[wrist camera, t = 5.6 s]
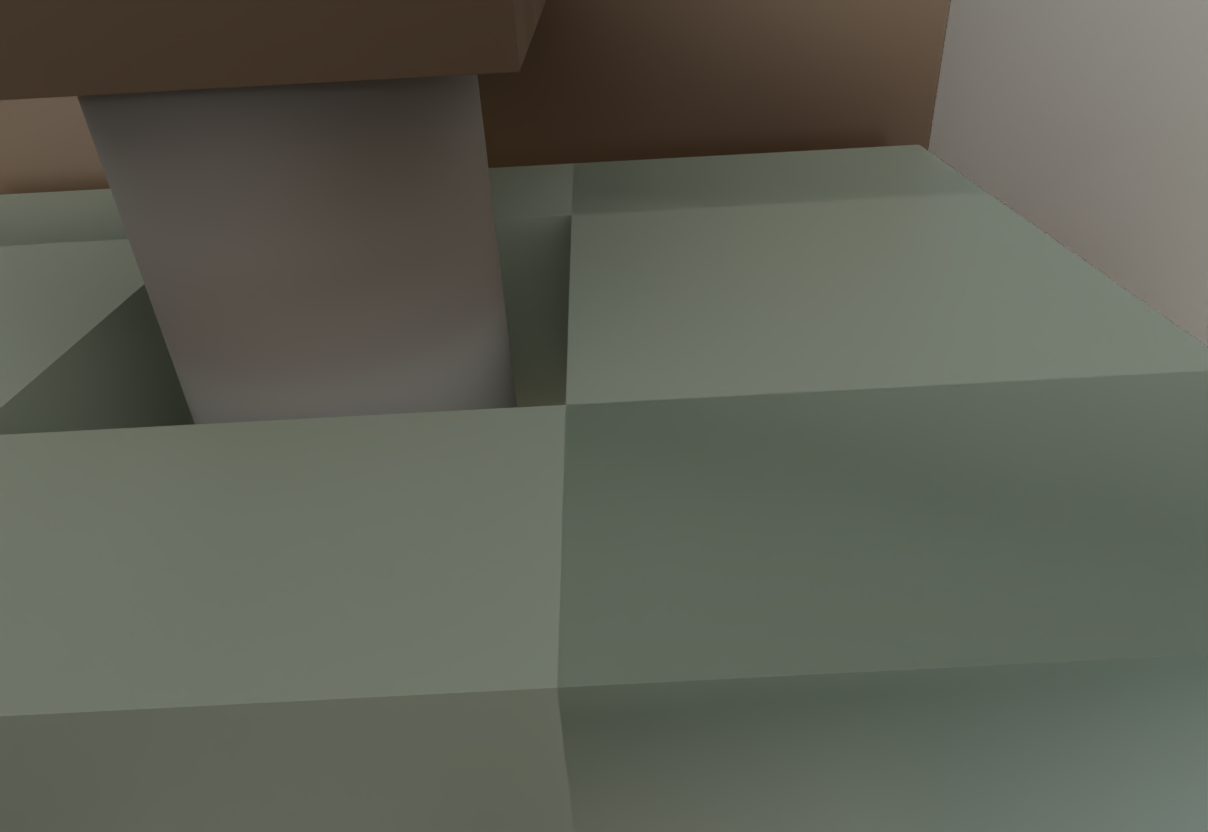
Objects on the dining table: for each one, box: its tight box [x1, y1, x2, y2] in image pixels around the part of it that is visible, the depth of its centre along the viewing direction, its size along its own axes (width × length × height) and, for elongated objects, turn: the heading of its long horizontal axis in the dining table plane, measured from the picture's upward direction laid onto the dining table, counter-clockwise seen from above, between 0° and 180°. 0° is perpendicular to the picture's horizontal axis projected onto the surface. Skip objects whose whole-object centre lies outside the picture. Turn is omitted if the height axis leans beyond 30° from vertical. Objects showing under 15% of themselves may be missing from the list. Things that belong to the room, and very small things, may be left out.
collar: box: [0, 145, 1208, 832], centre depth 7 cm, size 2×11×7 cm, turn 93°
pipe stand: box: [0, 0, 951, 424], centre depth 11 cm, size 18×12×7 cm, turn 3°
